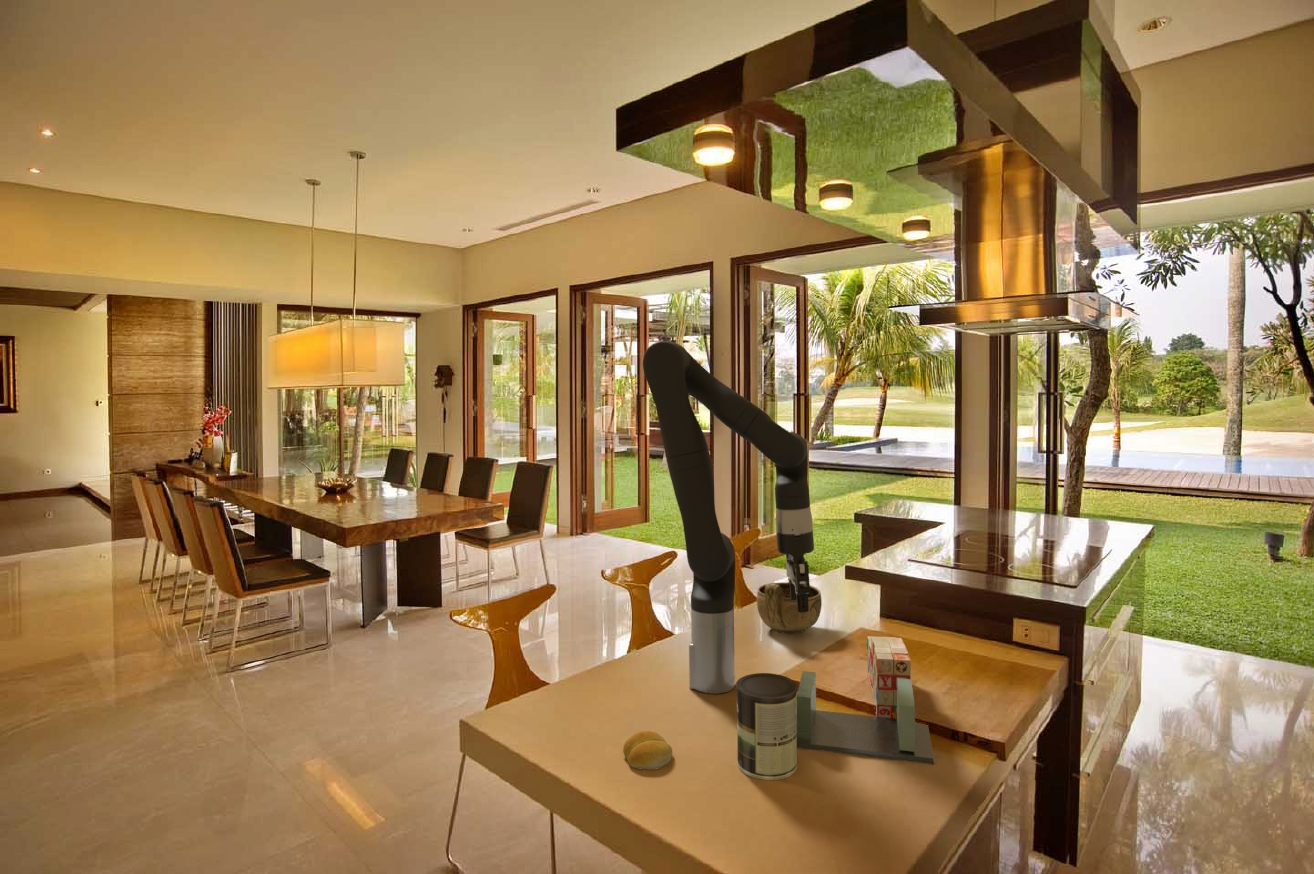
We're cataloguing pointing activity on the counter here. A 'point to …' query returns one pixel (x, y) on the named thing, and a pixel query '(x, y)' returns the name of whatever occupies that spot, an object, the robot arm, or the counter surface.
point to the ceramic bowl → (787, 608)
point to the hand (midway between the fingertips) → (799, 605)
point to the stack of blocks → (887, 671)
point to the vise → (853, 730)
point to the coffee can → (766, 726)
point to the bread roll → (647, 750)
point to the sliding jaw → (905, 715)
